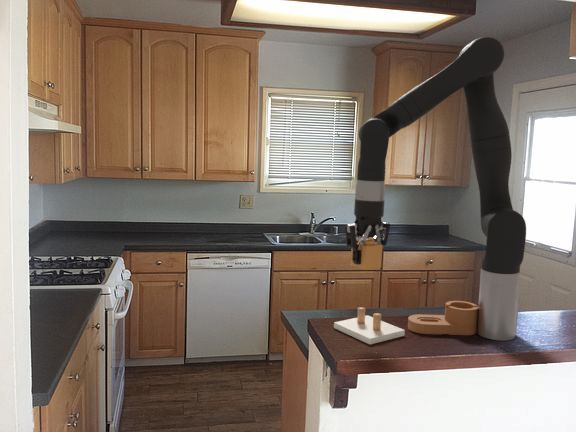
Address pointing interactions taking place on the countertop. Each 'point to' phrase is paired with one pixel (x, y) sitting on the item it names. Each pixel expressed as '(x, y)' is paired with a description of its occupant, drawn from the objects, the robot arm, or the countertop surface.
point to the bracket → (447, 320)
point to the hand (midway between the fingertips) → (365, 262)
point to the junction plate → (369, 328)
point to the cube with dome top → (369, 255)
